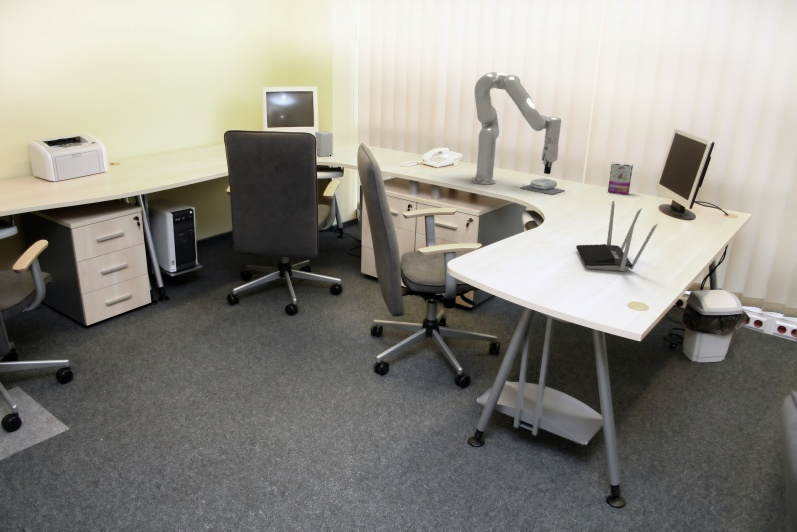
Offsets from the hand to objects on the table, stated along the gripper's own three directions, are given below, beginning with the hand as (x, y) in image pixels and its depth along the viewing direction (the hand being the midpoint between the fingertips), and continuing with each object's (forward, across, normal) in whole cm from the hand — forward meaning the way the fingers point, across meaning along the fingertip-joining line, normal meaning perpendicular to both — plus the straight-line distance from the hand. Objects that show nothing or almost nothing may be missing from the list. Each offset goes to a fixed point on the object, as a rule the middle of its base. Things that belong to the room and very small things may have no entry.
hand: (547, 173), depth 363 cm
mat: (+9, -4, 0) cm, 9 cm away
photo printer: (+6, +5, 0) cm, 7 cm away
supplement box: (+11, -32, +146) cm, 149 cm away
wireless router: (+8, -92, -79) cm, 121 cm away
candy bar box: (+8, +24, -32) cm, 41 cm away
